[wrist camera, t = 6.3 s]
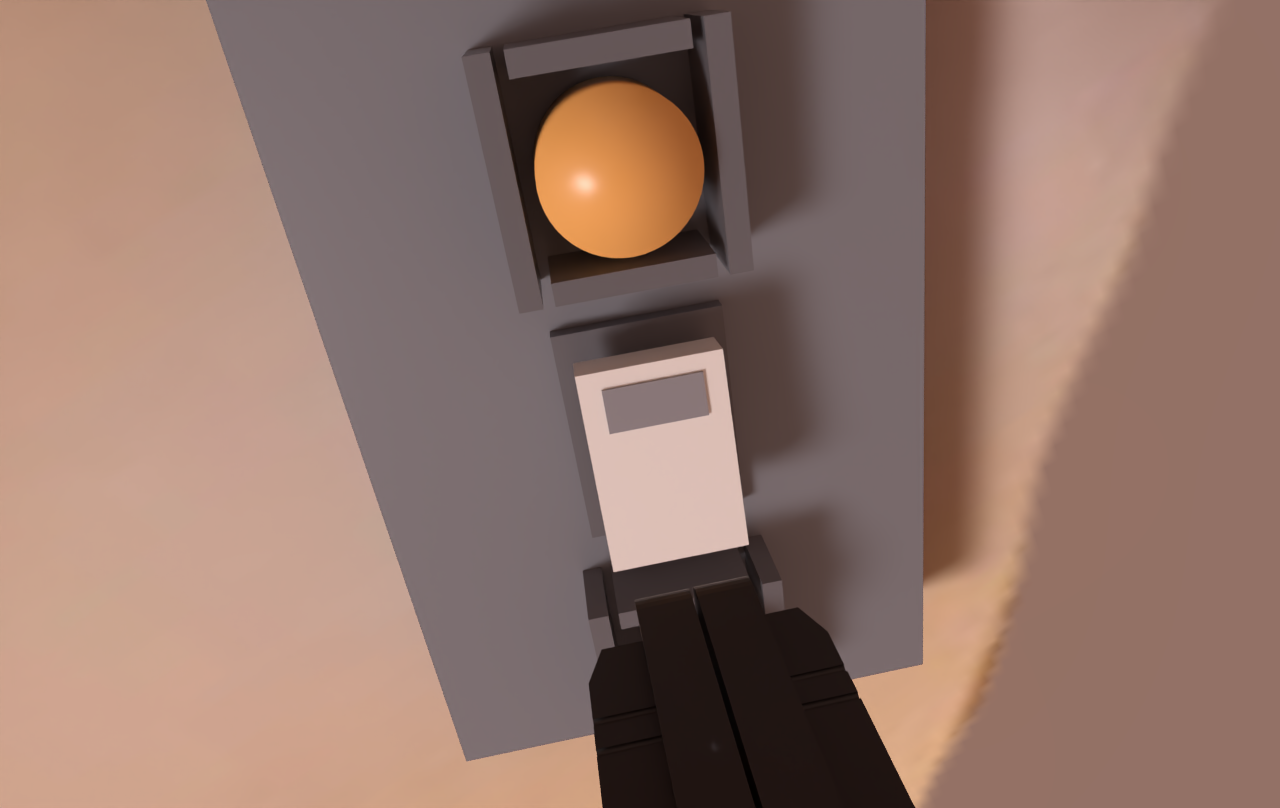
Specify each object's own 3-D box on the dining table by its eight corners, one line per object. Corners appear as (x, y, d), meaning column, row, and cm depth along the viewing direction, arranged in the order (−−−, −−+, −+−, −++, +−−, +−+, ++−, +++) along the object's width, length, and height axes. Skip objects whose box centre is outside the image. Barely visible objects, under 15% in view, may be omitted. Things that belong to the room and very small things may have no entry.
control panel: (127, -384, 16) (-27, -535, 11) (860, -486, 16) (990, -666, 12) (471, 687, 28) (462, 819, 23) (884, 601, 28) (952, 713, 24)
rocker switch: (572, 363, 19) (574, 377, 18) (713, 336, 19) (723, 349, 18) (609, 550, 20) (613, 574, 19) (739, 524, 21) (749, 546, 20)
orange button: (519, 91, 17) (518, 101, 15) (676, 63, 17) (694, 70, 15) (549, 247, 18) (553, 271, 17) (695, 220, 18) (712, 242, 17)
